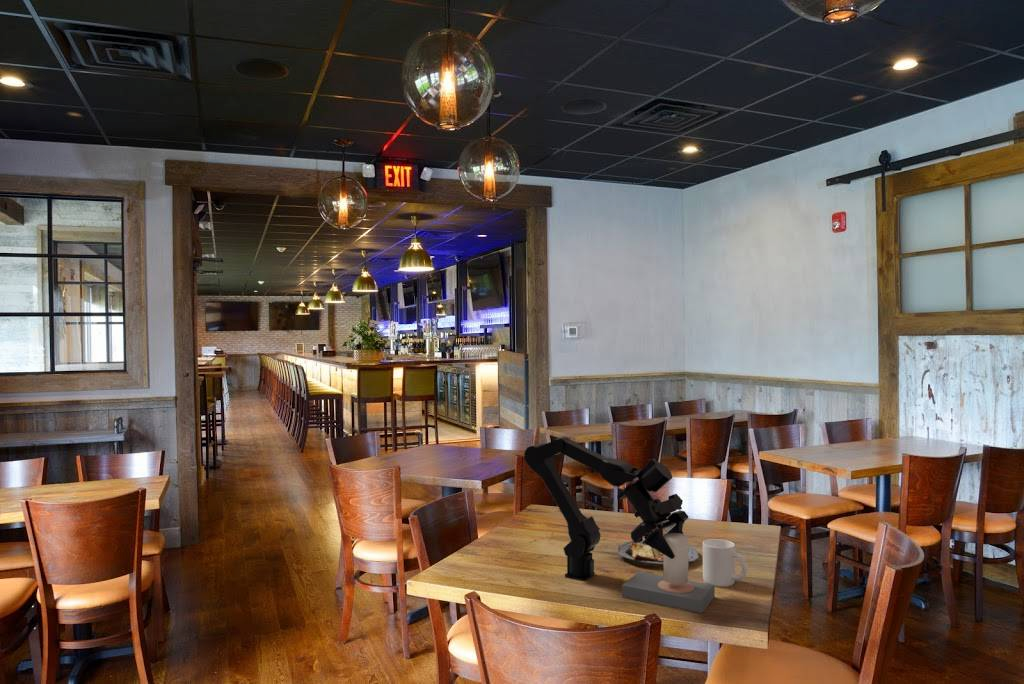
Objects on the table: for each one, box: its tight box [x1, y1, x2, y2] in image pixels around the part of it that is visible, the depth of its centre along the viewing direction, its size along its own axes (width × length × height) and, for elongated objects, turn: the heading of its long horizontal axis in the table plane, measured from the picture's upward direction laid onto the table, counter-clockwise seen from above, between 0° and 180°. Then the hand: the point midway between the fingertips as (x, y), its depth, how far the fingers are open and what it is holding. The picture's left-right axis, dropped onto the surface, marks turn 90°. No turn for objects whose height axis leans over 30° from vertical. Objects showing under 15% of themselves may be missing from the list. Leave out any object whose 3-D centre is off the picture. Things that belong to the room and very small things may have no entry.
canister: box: [662, 532, 689, 585], centre depth 169 cm, size 6×6×11 cm
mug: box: [702, 538, 748, 588], centre depth 180 cm, size 12×8×10 cm
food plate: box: [617, 538, 699, 566], centre depth 203 cm, size 25×23×4 cm
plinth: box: [621, 571, 716, 614], centre depth 170 cm, size 20×12×3 cm, turn 59°
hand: (680, 555), depth 168 cm, fingers closed on canister, 6 cm apart
